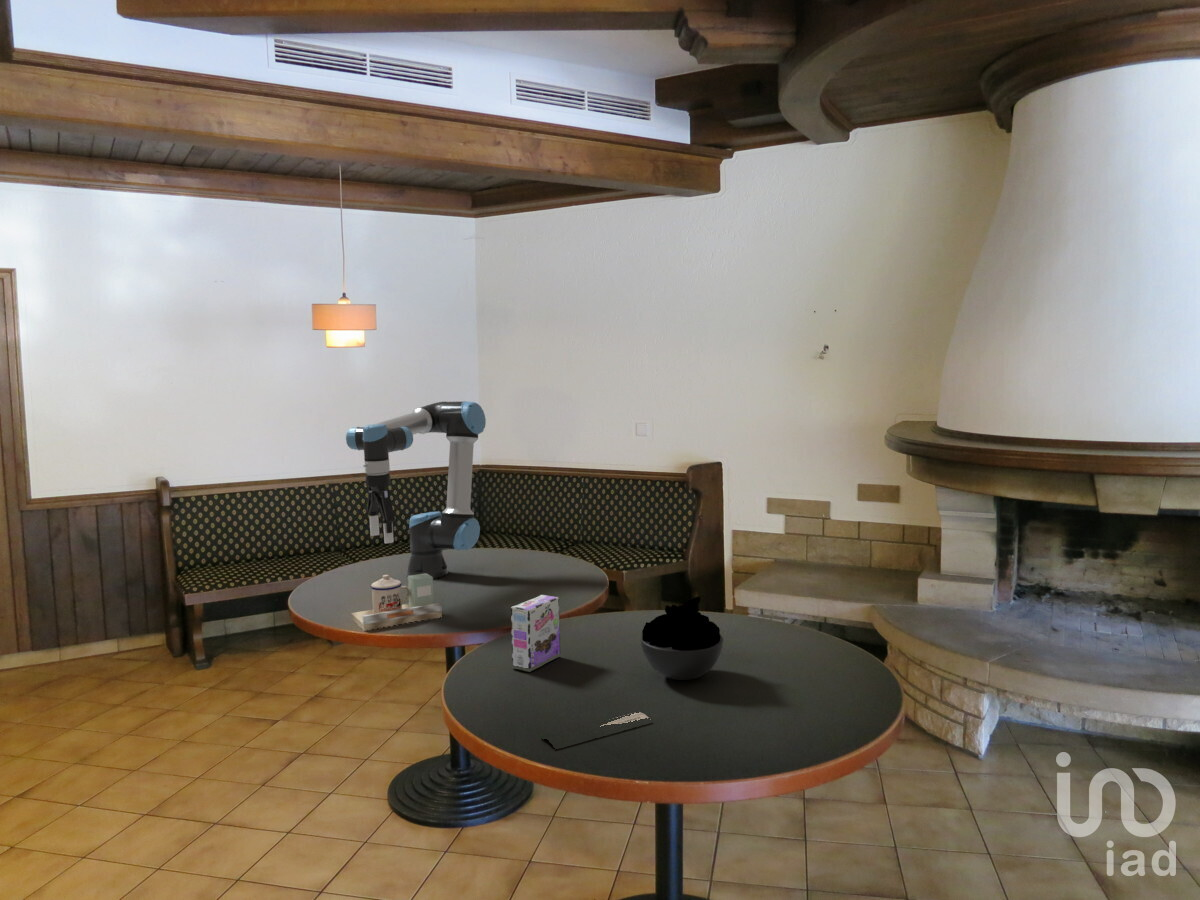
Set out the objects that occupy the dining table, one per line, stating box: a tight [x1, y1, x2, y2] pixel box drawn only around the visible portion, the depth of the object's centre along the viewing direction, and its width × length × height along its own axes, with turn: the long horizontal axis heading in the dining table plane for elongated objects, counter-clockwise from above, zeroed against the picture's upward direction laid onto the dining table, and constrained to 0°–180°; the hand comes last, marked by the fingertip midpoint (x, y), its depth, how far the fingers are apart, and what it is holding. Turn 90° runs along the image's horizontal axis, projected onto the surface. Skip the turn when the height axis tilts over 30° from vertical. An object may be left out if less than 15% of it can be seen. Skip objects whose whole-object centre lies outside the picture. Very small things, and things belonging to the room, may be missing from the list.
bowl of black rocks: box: [640, 596, 724, 681], centre depth 205 cm, size 20×20×19 cm
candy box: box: [510, 594, 561, 669], centre depth 217 cm, size 14×6×16 cm, turn 148°
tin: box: [407, 573, 435, 608], centre depth 263 cm, size 6×6×10 cm
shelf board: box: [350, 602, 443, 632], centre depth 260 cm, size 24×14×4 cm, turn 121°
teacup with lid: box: [370, 574, 410, 614], centre depth 260 cm, size 12×9×12 cm
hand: (381, 539), depth 270 cm, fingers open, 13 cm apart
